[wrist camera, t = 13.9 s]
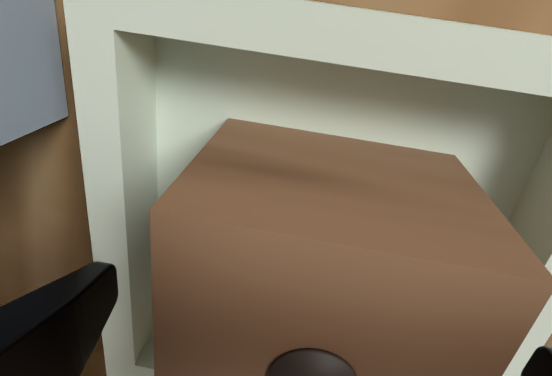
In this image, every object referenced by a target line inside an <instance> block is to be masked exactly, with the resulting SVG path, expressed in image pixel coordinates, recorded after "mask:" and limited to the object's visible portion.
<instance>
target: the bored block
mask: <svg viewBox="0 0 552 376" xmlns="http://www.w3.org/2000/svg"><path fill="white" fill-rule="evenodd" d="M67 116H69V115H68V107H67V99H66V91H65V83H64V75H63V67H62V59H61V51H60V43H59V35H58V27H57V19H56V11H55V3H54V0H0V146H1V145H4V144H6V143H8V142H11V141H13V140H15V139H17V138H20V137H22V136H24V135H26V134H29V133H31V132H33V131H35V130H38V129H40V128H42V127H45V126H47V125H49V124H51V123H54V122H56V121H58V120H60V119H63V118H65V117H67Z"/></svg>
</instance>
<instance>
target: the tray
mask: <svg viewBox="0 0 552 376" xmlns="http://www.w3.org/2000/svg"><path fill="white" fill-rule="evenodd" d="M63 4H64V12H65V21H66V30H67V38H68V47H69V56H70V64H71V73H72V81H73V90H74V99H75V107H76V116H77V125H78V133H79V142H80V150H81V159H82V168H83V176H84V185H85V194H86V202H87V211H88V219H89V228H90V237H91V245H92V254H93V262H95V261H100V262H106V263H111V264H113V265H115V267H116V270H117V282H118V298H117V302H116V304H115V306H114V308H113V310H112V312H111V314H110V316H109V319H108V321H107V323H106V325H105V327H104V329H103V331H102V340H103V349H104V357H105V366H106V375H107V376H154V350H153V316H152V282H151V248H150V213H149V209H150V208H151V207H152V206H153V205H154V204H155V202H156V201H157V200H158V199H159V198H160V197H161V196H162V194H163V193H164V192H165V191H166V190H167V189H168V187H169V186H170V185H171V184H172V183H173V182H174V181H175V179H176V178H177V177H178V176H179V175H180V174H181V172H182V171H183V170H184V169H185V168H186V167H187V165H188V164H189V163H190V162H191V161H192V160H193V159H194V157H195V156H196V155H197V154H198V153H199V152H200V150H201V149H202V148H203V147H204V146H205V145H206V144H207V142H208V141H209V140H210V139H211V138H212V137H213V135H214V134H215V133H216V132H217V131H218V130H219V129H220V127H221V126H222V125H223V124H224V123H225V122H226V120H227V119H228V118H232V119H238V120H244V121H250V122H257V123H263V124H269V125H275V126H281V127H287V128H293V129H299V130H305V131H311V132H317V133H324V134H330V135H336V136H342V137H348V138H354V139H360V140H366V141H372V142H378V143H384V144H391V145H397V146H403V147H409V148H415V149H421V150H427V151H433V152H439V153H445V154H451V155H455V156H456V157H457V158H458V159H459V161H460V162H461V163H462V164H463V166H464V167H465V168H466V169H467V171H468V172H469V173H470V174H471V175H472V177H473V178H474V179H475V180H476V182H477V183H478V184H479V185H480V187H481V188H482V189H483V190H484V192H485V193H486V194H487V195H488V197H489V198H490V199H491V200H492V202H493V203H494V204H495V205H496V206H497V208H498V209H499V210H500V211H501V213H502V214H503V215H504V216H505V218H506V219H507V220H508V221H509V223H510V224H511V225H512V226H513V228H514V229H515V230H516V231H517V232H518V234H519V235H520V236H521V237H522V239H523V240H524V241H525V242H526V244H527V245H528V246H529V247H530V249H531V250H532V251H533V252H534V254H535V255H536V256H537V257H538V259H539V260H540V261H541V262H542V263H543V265H544V266H545V267H546V268H547V270H548V271H549V272H550V273H551V275H552V35H545V34H538V33H531V32H524V31H518V30H511V29H504V28H497V27H490V26H483V25H476V24H469V23H462V22H455V21H449V20H442V19H435V18H428V17H421V16H414V15H407V14H400V13H393V12H386V11H379V10H373V9H366V8H359V7H352V6H345V5H338V4H331V3H324V2H317V1H310V0H63ZM551 333H552V295H551V296H550V298H549V300H548V301H547V303H546V305H545V306H544V308H543V310H542V311H541V313H540V315H539V316H538V318H537V320H536V321H535V323H534V324H533V326H532V328H531V329H530V331H529V333H528V334H527V336H526V338H525V339H524V341H523V343H522V344H521V346H520V347H519V349H518V351H517V352H516V354H515V356H514V357H513V359H512V361H511V362H510V364H509V366H508V367H507V369H506V371H505V372H504V374H503V375H502V376H521V372H522V370H523V368H524V367H525V365H526V363H527V362H528V360H529V359H530V357H531V356H532V354H533V353H534V351H535V350H536V348H538V347H540V346H544V344H545V343H546V341H547V340H548V338H549V337H550V335H551Z"/></svg>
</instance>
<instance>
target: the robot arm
mask: <svg viewBox="0 0 552 376" xmlns="http://www.w3.org/2000/svg"><path fill="white" fill-rule="evenodd" d="M117 298H118V282H117V270H116V267H115V265H113V264H111V263H106V262H100V261H95V262H93V263H90V264H88V265H86V266H84V267H82V268H80V269H78V270H76V271H74V272H72V273H70V274H68V275H65V276H63V277H61V278H59V279H57V280H55V281H53V282H51V283H49V284H47V285H45V286H43V287H41V288H38V289H36V290H34V291H32V292H30V293H28V294H26V295H24V296H22V297H20V298H18V299H16V300H14V301H11V302H9V303H7V304H5V305H3V306H1V307H0V376H80V374H81V372H82V370H83V369H84V367H85V365H86V363H87V361H88V359H89V357H90V355H91V353H92V351H93V349H94V347H95V345H96V343H97V341H98V339H99V337H100V335H101V333H102V331H103V329H104V327H105V325H106V323H107V321H108V319H109V316H110V314H111V312H112V310H113V308H114V306H115V304H116V302H117ZM521 376H552V348H551V347H546V346H540V347H538V348H536V350H535V351H534V353H533V354H532V356H531V357H530V359H529V360H528V362H527V363H526V365H525V367H524V368H523V370H522V372H521Z"/></svg>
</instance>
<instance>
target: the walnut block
mask: <svg viewBox="0 0 552 376" xmlns="http://www.w3.org/2000/svg"><path fill="white" fill-rule="evenodd" d="M149 213H150V248H151V282H152V316H153V350H154V376H502V375H503V374H504V372H505V371H506V369H507V367H508V366H509V364H510V362H511V361H512V359H513V357H514V356H515V354H516V352H517V351H518V349H519V347H520V346H521V344H522V343H523V341H524V339H525V338H526V336H527V334H528V333H529V331H530V329H531V328H532V326H533V324H534V323H535V321H536V320H537V318H538V316H539V315H540V313H541V311H542V310H543V308H544V306H545V305H546V303H547V301H548V300H549V298H550V296H551V295H552V275H551V273H550V272H549V271H548V270H547V268H546V267H545V266H544V265H543V263H542V262H541V261H540V260H539V259H538V257H537V256H536V255H535V254H534V252H533V251H532V250H531V249H530V247H529V246H528V245H527V244H526V242H525V241H524V240H523V239H522V237H521V236H520V235H519V234H518V232H517V231H516V230H515V229H514V228H513V226H512V225H511V224H510V223H509V221H508V220H507V219H506V218H505V216H504V215H503V214H502V213H501V211H500V210H499V209H498V208H497V206H496V205H495V204H494V203H493V202H492V200H491V199H490V198H489V197H488V195H487V194H486V193H485V192H484V190H483V189H482V188H481V187H480V185H479V184H478V183H477V182H476V180H475V179H474V178H473V177H472V175H471V174H470V173H469V172H468V171H467V169H466V168H465V167H464V166H463V164H462V163H461V162H460V161H459V159H458V158H457V157H456V156H455V155H451V154H445V153H439V152H433V151H427V150H421V149H415V148H409V147H403V146H397V145H391V144H384V143H378V142H372V141H366V140H360V139H354V138H348V137H342V136H336V135H330V134H324V133H317V132H311V131H305V130H299V129H293V128H287V127H281V126H275V125H269V124H263V123H257V122H250V121H244V120H238V119H232V118H228V119H227V120H226V122H225V123H224V124H223V125H222V126H221V127H220V129H219V130H218V131H217V132H216V133H215V134H214V135H213V137H212V138H211V139H210V140H209V141H208V142H207V144H206V145H205V146H204V147H203V148H202V149H201V150H200V152H199V153H198V154H197V155H196V156H195V157H194V159H193V160H192V161H191V162H190V163H189V164H188V165H187V167H186V168H185V169H184V170H183V171H182V172H181V174H180V175H179V176H178V177H177V178H176V179H175V181H174V182H173V183H172V184H171V185H170V186H169V187H168V189H167V190H166V191H165V192H164V193H163V194H162V196H161V197H160V198H159V199H158V200H157V201H156V202H155V204H154V205H153V206H152V207H151V208H150V209H149Z"/></svg>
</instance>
